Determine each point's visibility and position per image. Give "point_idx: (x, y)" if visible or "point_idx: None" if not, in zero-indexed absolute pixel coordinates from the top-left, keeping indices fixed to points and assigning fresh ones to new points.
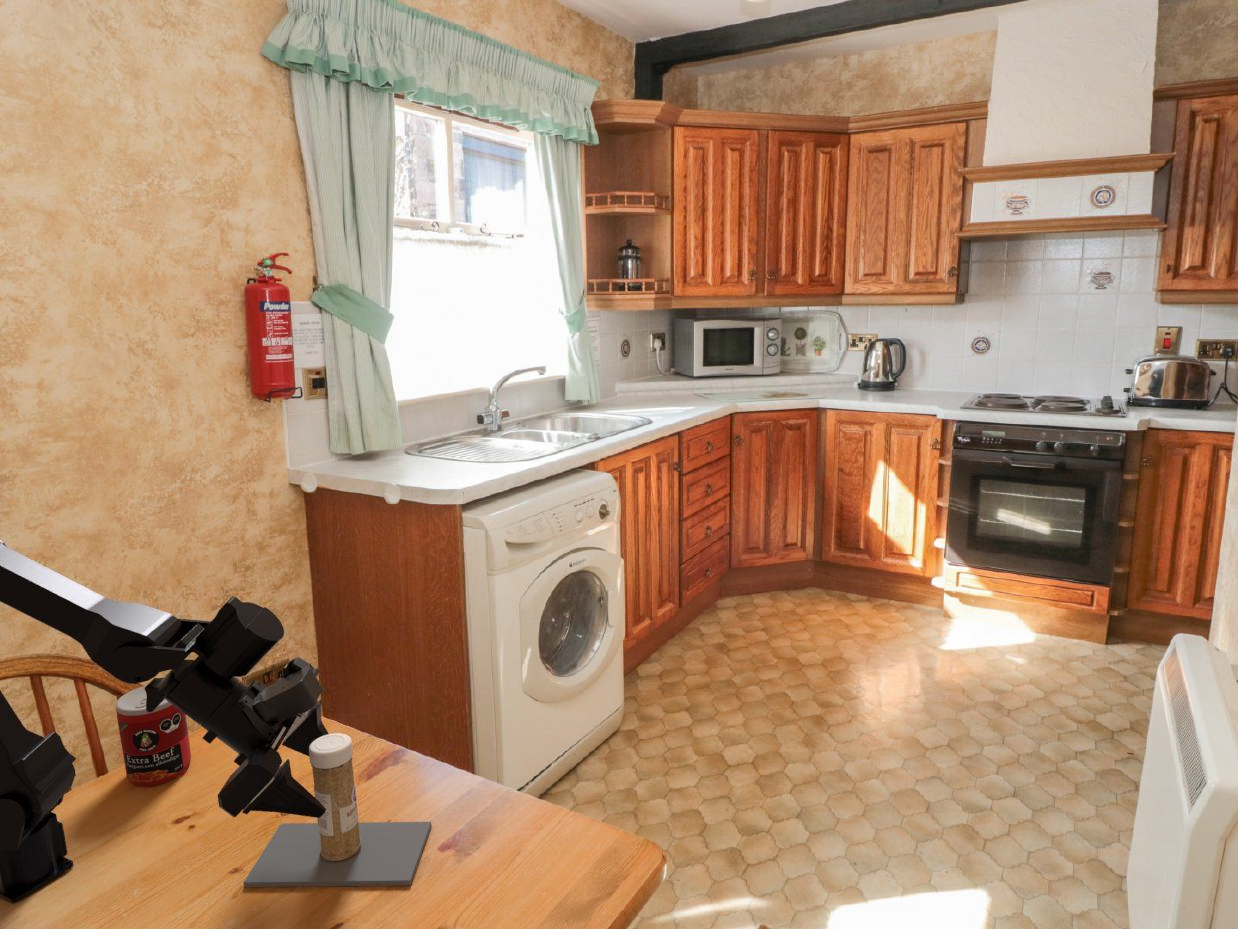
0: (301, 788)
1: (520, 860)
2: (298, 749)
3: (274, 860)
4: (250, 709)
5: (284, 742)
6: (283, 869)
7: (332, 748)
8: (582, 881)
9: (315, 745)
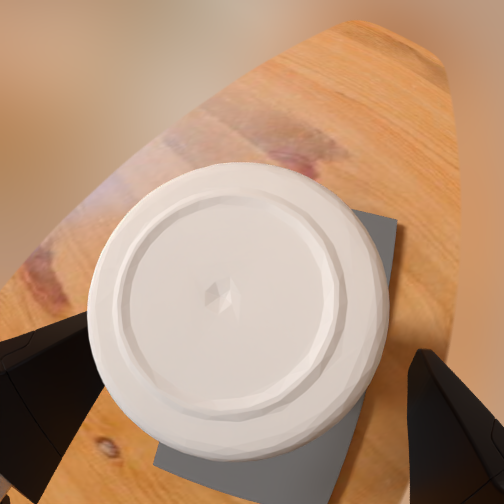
0: (482, 432)
1: (355, 93)
2: (56, 455)
3: (271, 476)
4: None
5: (31, 498)
6: (307, 457)
7: (334, 267)
8: (394, 58)
9: (234, 416)
